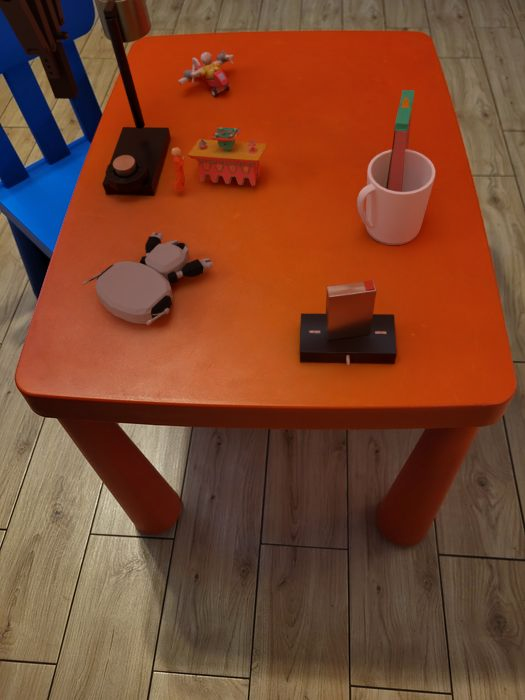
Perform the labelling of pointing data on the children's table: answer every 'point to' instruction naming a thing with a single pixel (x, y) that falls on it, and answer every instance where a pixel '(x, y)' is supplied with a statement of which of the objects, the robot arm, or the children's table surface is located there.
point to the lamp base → (139, 160)
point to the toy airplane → (209, 71)
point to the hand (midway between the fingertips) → (67, 95)
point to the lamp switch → (125, 166)
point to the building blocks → (244, 157)
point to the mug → (396, 198)
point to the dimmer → (348, 342)
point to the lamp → (125, 40)
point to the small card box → (349, 309)
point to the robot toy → (146, 280)
